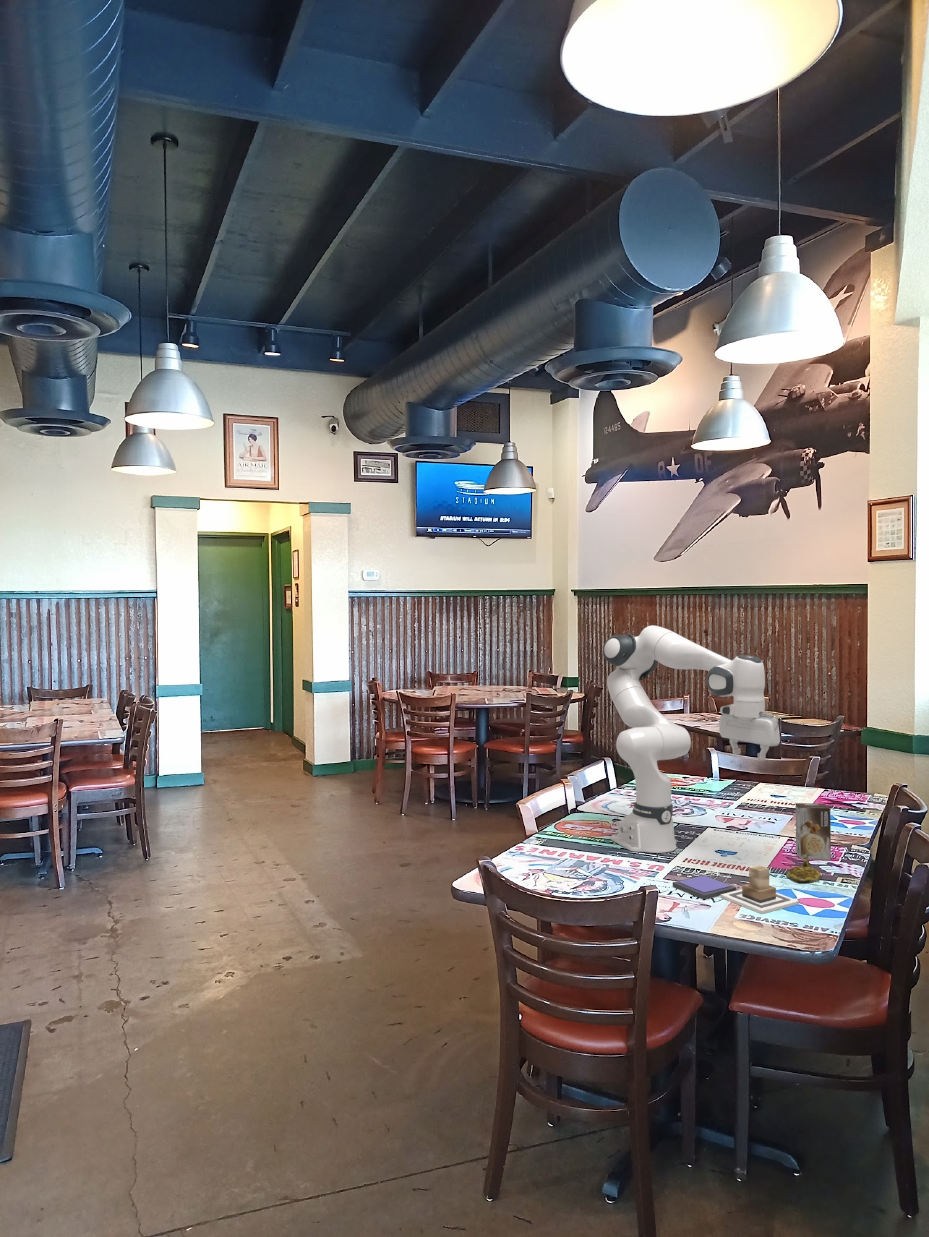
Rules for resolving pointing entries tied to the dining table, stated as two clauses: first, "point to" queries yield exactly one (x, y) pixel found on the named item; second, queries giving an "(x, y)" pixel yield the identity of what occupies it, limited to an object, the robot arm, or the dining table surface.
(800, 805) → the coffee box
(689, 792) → the dining table surface
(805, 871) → the seal
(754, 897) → the stamp
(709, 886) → the ink pad
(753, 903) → the board
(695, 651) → the robot arm
